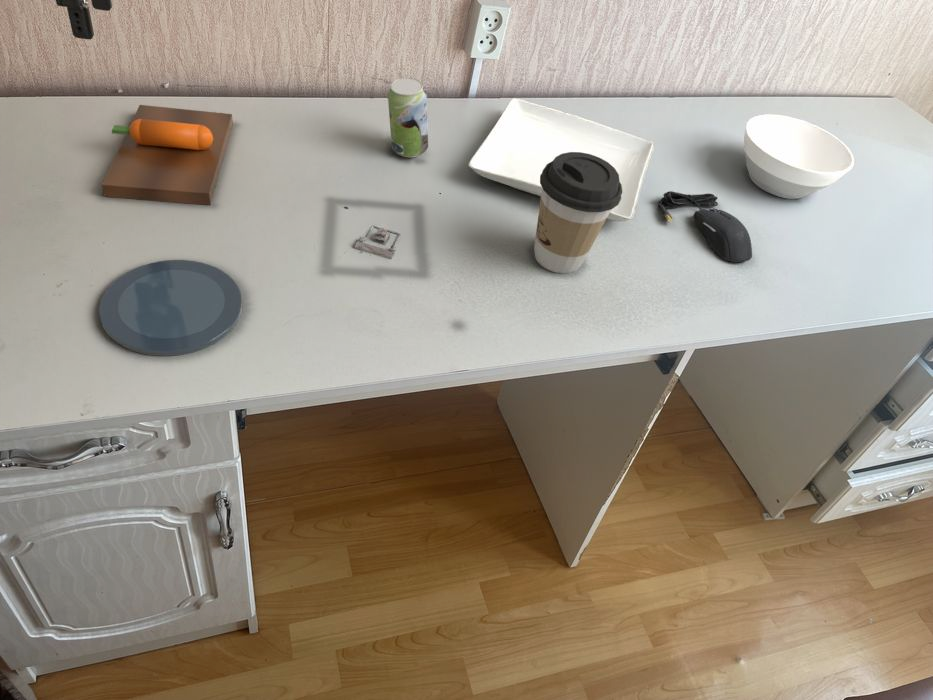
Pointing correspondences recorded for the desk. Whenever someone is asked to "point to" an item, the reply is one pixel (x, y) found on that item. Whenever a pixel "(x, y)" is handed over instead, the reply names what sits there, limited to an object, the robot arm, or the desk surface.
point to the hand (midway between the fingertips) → (93, 22)
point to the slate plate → (170, 307)
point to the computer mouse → (713, 225)
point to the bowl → (793, 156)
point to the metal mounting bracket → (380, 238)
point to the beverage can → (408, 117)
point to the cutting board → (170, 161)
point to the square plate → (559, 150)
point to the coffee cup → (573, 208)
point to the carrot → (167, 134)
